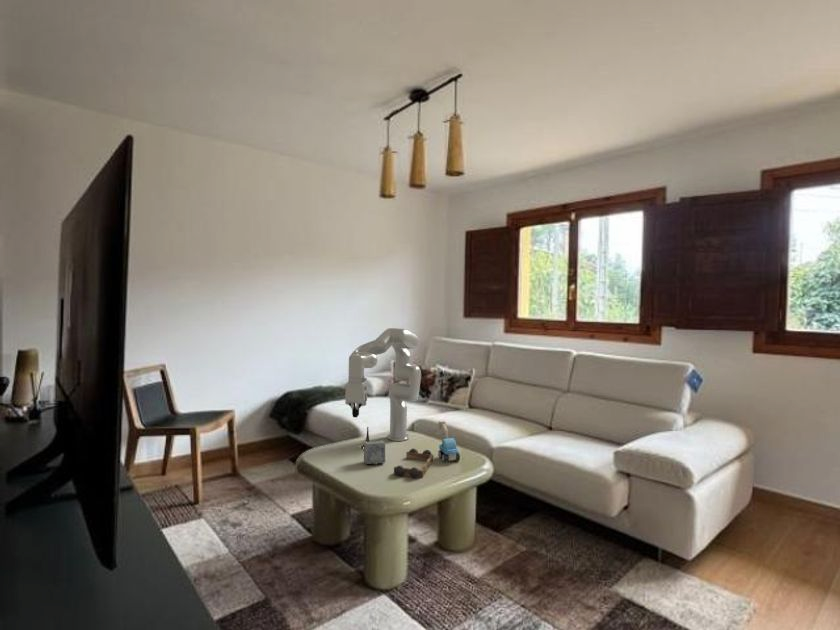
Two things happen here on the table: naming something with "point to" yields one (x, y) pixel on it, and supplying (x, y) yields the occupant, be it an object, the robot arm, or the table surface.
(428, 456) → the chassis bay
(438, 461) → the table surface
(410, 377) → the robot arm
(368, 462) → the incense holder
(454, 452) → the toy excavator
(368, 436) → the eiffel tower figurine
